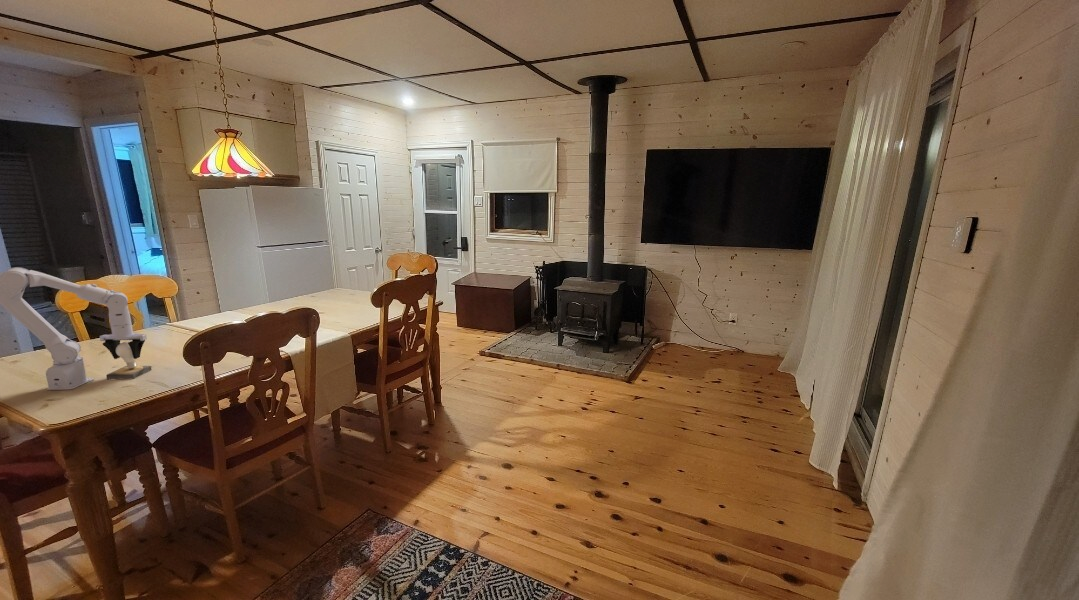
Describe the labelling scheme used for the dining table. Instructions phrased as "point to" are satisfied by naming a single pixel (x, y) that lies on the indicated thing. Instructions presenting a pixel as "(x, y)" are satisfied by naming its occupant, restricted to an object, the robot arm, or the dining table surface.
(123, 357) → the lightbulb
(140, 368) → the charcoal base
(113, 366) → the dining table surface
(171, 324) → the dining table surface
